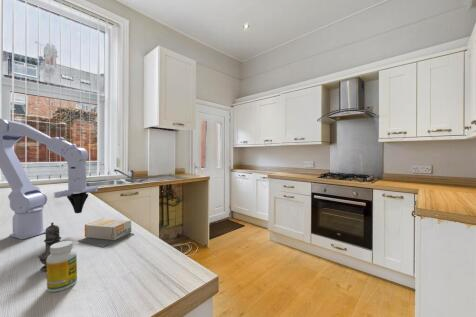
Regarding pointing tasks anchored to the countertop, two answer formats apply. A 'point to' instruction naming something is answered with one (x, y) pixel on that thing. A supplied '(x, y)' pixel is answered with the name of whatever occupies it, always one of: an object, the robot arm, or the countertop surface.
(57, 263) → the supplement bottle
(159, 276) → the countertop surface
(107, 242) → the slate mat
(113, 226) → the supplement box
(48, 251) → the stone chess piece
